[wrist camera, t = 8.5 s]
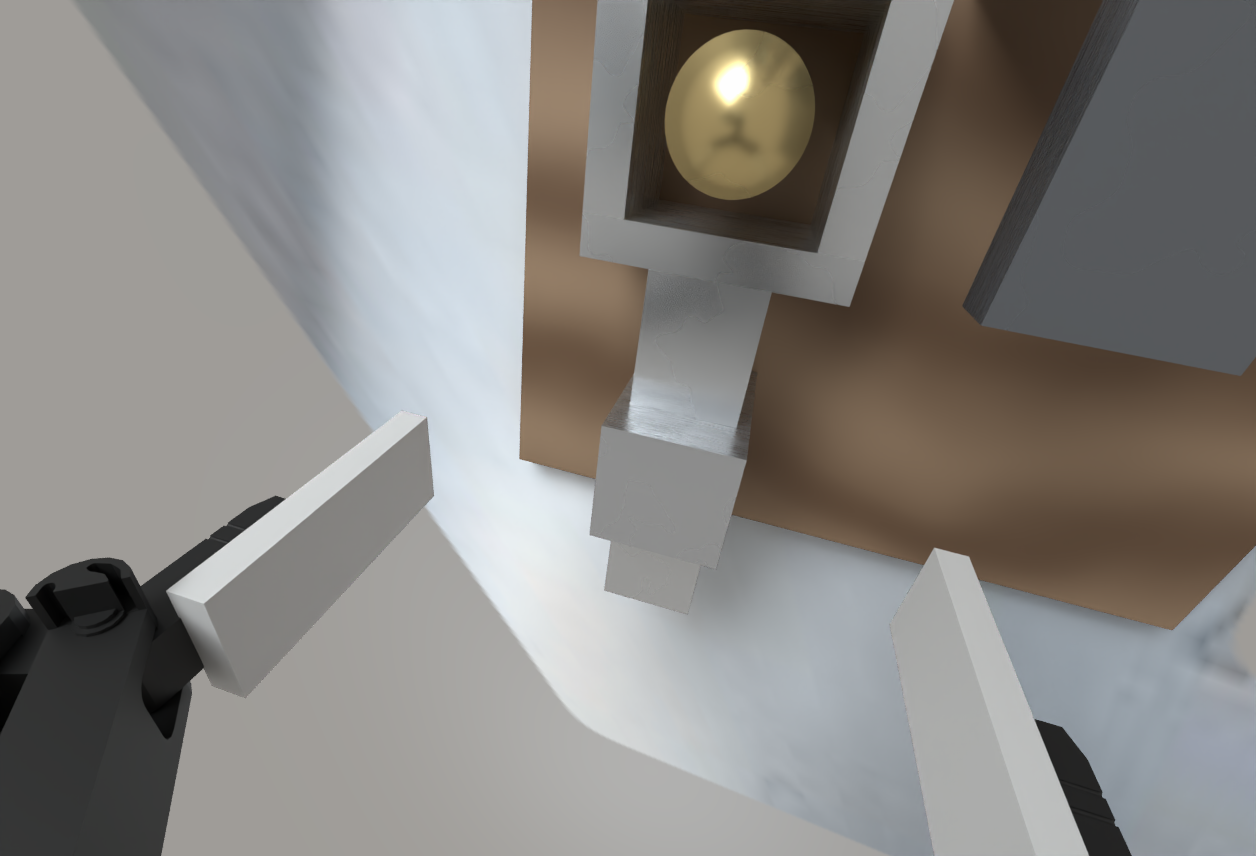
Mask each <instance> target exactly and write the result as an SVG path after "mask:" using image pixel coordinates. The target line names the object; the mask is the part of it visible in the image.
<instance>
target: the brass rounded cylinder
mask: <svg viewBox="0 0 1256 856" xmlns="http://www.w3.org/2000/svg"><path fill="white" fill-rule="evenodd" d="M814 115H815V96H814V90H813V85H812V81H811V78H810V75H809V72H808V70H807V68H806V66H805V64H804V62H803V61H802V59H801V58H800V56H799V55H798V54H797V53H796V51H795V50H794V49H793V48H792V47H791V46H790V45H788V44H787V43H786V42H785V41H783V40H782V39H780V38H778V37H777V36H775V35H772V34H770V33H767V32H763V31H758V30H747V29H744V30H736V31H731V32H728V33H724V34H722V35H720V36H717V37H715V38H713V39H712V40H710V41H708V42H707V43H705V44H704V45H703V46H701V47H700V48H699V49H698V50H696V51H695V52H694V53H693V54H692V56H691V57H690V58H689V59H688V60H687V61H686V63H685V64H684V65H683V67H682V68H681V70H680V71H679V73H678V75H677V76H676V78H675V81H674V83H673V85H672V87H671V90H670V93H669V97H668V100H667V105H666V111H665V135H666V142H667V146H668V149H669V153H670V155H671V158H672V160H673V162H674V164H675V166H676V168H677V169H678V171H679V172H680V173H681V175H682V176H683V177H684V178H685V179H686V180H687V181H688V183H689V184H691V185H692V186H693V187H695V188H696V189H697V190H699V191H701V192H702V193H704V194H707V195H709V196H711V197H715V198H719V199H725V200H740V199H746V198H750V197H753V196H756V195H759V194H761V193H763V192H765V191H767V190H769V189H771V188H772V187H774V186H775V185H777V184H778V183H779V182H780V181H781V180H783V179H784V178H785V177H786V176H787V175H788V174H789V173H790V172H791V170H792V169H793V168H794V166H795V165H796V164H797V163H798V161H799V159H800V158H801V156H802V154H803V153H804V150H805V148H806V146H807V144H808V141H809V138H810V135H811V132H812V128H813V123H814Z"/></svg>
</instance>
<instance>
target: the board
mask: <svg viewBox="0 0 1256 856" xmlns="http://www.w3.org/2000/svg"><path fill="white" fill-rule="evenodd" d="M1102 1H1103V0H954V2H953V5H952V8H951V11H950V14H949V16H948V19H947V22H946V25H945V28H944V31H943V34H942V37H941V40H940V43H939V46H938V49H937V52H936V55H935V58H934V60H933V63H932V66H931V69H930V72H929V75H928V78H927V81H926V84H925V87H924V90H923V93H922V96H921V99H920V102H919V104H918V107H917V110H916V113H915V116H914V119H913V122H912V125H911V128H910V131H909V134H908V137H907V140H906V143H905V146H904V149H903V151H902V154H901V157H900V160H899V163H898V166H897V169H896V172H895V175H894V178H893V181H892V184H891V187H890V190H889V193H888V195H887V198H886V201H885V204H884V207H883V210H882V213H881V216H880V219H879V222H878V225H877V228H876V231H875V234H874V237H873V239H872V242H871V245H870V248H869V251H868V254H867V257H866V260H865V263H864V266H863V269H862V272H861V275H860V278H859V281H858V283H857V286H856V289H855V292H854V295H853V298H852V301H851V304H850V307H847V306H842V305H837V304H831V303H826V302H821V301H815V300H810V299H805V298H799V297H794V296H789V295H783V294H778V293H773V292H772V294H771V297H770V301H769V305H768V309H767V313H766V317H765V321H764V324H763V328H762V332H761V336H760V340H759V344H758V347H757V351H756V355H755V359H754V363H753V367H752V370H751V371H754V372H757V380H756V388H755V396H754V405H753V413H752V421H751V429H750V438H749V446H748V454H747V461H746V465H745V468H744V472H743V475H742V479H741V482H740V486H739V490H738V493H737V497H736V500H735V504H734V507H733V511H732V514H731V515H735V516H739V517H743V518H746V519H750V520H754V521H758V522H762V523H765V524H769V525H773V526H777V527H781V528H784V529H788V530H792V531H796V532H800V533H804V534H807V535H811V536H815V537H819V538H823V539H826V540H830V541H834V542H838V543H842V544H845V545H849V546H853V547H857V548H861V549H864V550H868V551H872V552H876V553H880V554H884V555H887V556H891V557H895V558H899V559H903V560H906V561H910V562H914V563H918V564H922V565H924V564H925V563H926V561H927V559H928V558H929V556H930V554H931V552H932V551H933V549H934V548H937V549H941V550H945V551H949V552H953V553H957V554H961V555H965V556H969V558H970V561H971V563H972V566H973V568H974V571H975V573H976V575H977V578H978V579H979V580H983V581H986V582H990V583H994V584H998V585H1002V586H1005V587H1009V588H1013V589H1017V590H1021V591H1024V592H1028V593H1032V594H1036V595H1040V596H1044V597H1047V598H1051V599H1055V600H1059V601H1063V602H1066V603H1070V604H1074V605H1078V606H1082V607H1085V608H1089V609H1093V610H1097V611H1101V612H1104V613H1108V614H1112V615H1116V616H1120V617H1124V618H1127V619H1131V620H1135V621H1139V622H1143V623H1146V624H1150V625H1154V626H1158V627H1162V628H1165V629H1169V630H1173V629H1174V628H1175V627H1176V626H1177V625H1178V624H1179V623H1180V622H1181V621H1182V620H1183V619H1184V618H1185V617H1186V616H1187V615H1188V614H1189V613H1190V612H1191V611H1192V610H1193V609H1194V608H1195V607H1196V606H1197V605H1198V604H1199V603H1200V602H1201V601H1202V600H1203V599H1204V598H1205V597H1206V596H1207V595H1208V594H1209V592H1210V591H1211V590H1212V589H1213V588H1214V587H1215V586H1216V585H1217V584H1218V583H1219V582H1220V581H1221V580H1222V579H1223V578H1224V577H1225V576H1226V575H1227V574H1228V573H1229V572H1230V571H1231V570H1232V569H1233V568H1234V567H1235V566H1236V565H1237V564H1238V563H1239V562H1240V561H1241V560H1242V559H1243V558H1244V557H1245V556H1246V555H1247V554H1248V553H1249V552H1250V551H1251V550H1252V549H1253V548H1254V547H1255V546H1256V357H1255V359H1254V360H1253V361H1252V362H1251V364H1250V365H1249V366H1248V368H1247V369H1246V370H1245V371H1244V373H1243V374H1242V375H1241V376H1238V375H1233V374H1228V373H1222V372H1217V371H1212V370H1207V369H1202V368H1197V367H1191V366H1186V365H1181V364H1176V363H1171V362H1166V361H1161V360H1155V359H1150V358H1145V357H1140V356H1135V355H1130V354H1125V353H1119V352H1114V351H1109V350H1104V349H1099V348H1094V347H1089V346H1083V345H1078V344H1073V343H1068V342H1063V341H1058V340H1053V339H1047V338H1042V337H1037V336H1032V335H1027V334H1022V333H1017V332H1011V331H1006V330H1001V329H996V328H991V327H986V326H981V325H980V324H979V323H978V322H977V321H976V320H975V319H974V318H973V317H972V316H971V315H970V314H969V313H968V312H967V311H966V310H965V309H964V308H963V307H962V305H963V303H964V301H965V299H966V296H967V294H968V292H969V290H970V288H971V286H972V283H973V281H974V279H975V277H976V275H977V272H978V270H979V268H980V266H981V264H982V262H983V259H984V257H985V255H986V253H987V251H988V249H989V246H990V244H991V242H992V240H993V238H994V236H995V233H996V231H997V229H998V227H999V225H1000V223H1001V220H1002V218H1003V216H1004V214H1005V212H1006V210H1007V207H1008V205H1009V203H1010V201H1011V199H1012V197H1013V194H1014V192H1015V190H1016V188H1017V186H1018V184H1019V181H1020V179H1021V177H1022V175H1023V173H1024V171H1025V168H1026V166H1027V164H1028V162H1029V160H1030V157H1031V155H1032V153H1033V151H1034V149H1035V147H1036V144H1037V142H1038V140H1039V138H1040V136H1041V134H1042V131H1043V129H1044V127H1045V125H1046V123H1047V121H1048V118H1049V116H1050V114H1051V112H1052V110H1053V108H1054V105H1055V103H1056V101H1057V99H1058V97H1059V95H1060V92H1061V90H1062V88H1063V86H1064V84H1065V82H1066V79H1067V77H1068V75H1069V73H1070V71H1071V69H1072V66H1073V64H1074V62H1075V60H1076V58H1077V55H1078V53H1079V51H1080V49H1081V47H1082V45H1083V42H1084V40H1085V38H1086V36H1087V34H1088V32H1089V29H1090V27H1091V25H1092V23H1093V21H1094V19H1095V16H1096V14H1097V12H1098V10H1099V8H1100V6H1101V3H1102ZM597 2H598V0H532V31H531V66H530V102H529V137H528V173H527V208H526V244H525V280H524V315H523V351H522V386H521V422H520V457H519V459H522V460H525V461H529V462H533V463H537V464H541V465H544V466H548V467H552V468H556V469H560V470H563V471H567V472H571V473H575V474H579V475H583V476H586V477H590V478H594V479H596V472H597V463H598V454H599V444H600V435H601V426H602V424H603V423H604V421H605V419H606V418H607V416H608V414H609V413H610V411H611V410H612V408H613V406H614V405H615V403H616V402H617V400H618V398H619V397H620V395H621V394H622V392H623V390H624V389H625V387H626V386H627V384H628V382H629V381H630V379H631V377H632V376H633V374H634V371H635V364H636V356H637V349H638V342H639V335H640V327H641V320H642V313H643V306H644V298H645V291H646V284H647V277H648V269H645V268H640V267H635V266H629V265H624V264H619V263H613V262H608V261H603V260H597V259H592V258H587V257H581V256H579V255H580V241H581V227H582V213H583V199H584V185H585V171H586V157H587V143H588V129H589V115H590V101H591V87H592V73H593V59H594V45H595V30H596V16H597ZM744 29H747V30H758V31H763V32H767V33H770V34H772V35H775V36H777V37H778V38H780V39H782V40H783V41H785V42H786V43H787V44H788V45H790V46H791V47H792V48H793V49H794V50H795V51H796V53H797V54H798V55H799V56H800V58H801V59H802V61H803V62H804V64H805V66H806V68H807V70H808V72H809V75H810V78H811V81H812V85H813V90H814V96H815V115H814V123H813V128H812V132H811V135H810V138H809V141H808V144H807V146H806V148H805V150H804V153H803V154H802V156H801V158H800V159H799V161H798V163H797V164H796V165H795V166H794V168H793V169H792V170H791V172H790V173H789V174H788V175H787V176H786V177H785V178H784V179H783V180H781V181H780V182H779V183H778V184H777V185H775V186H774V187H772V188H771V189H769V190H767V191H765V192H763V193H761V194H759V195H756V196H753V197H750V198H746V199H740V200H725V199H719V198H715V197H711V196H709V195H707V194H704V193H702V192H701V191H699V190H697V189H696V188H695V187H693V186H692V185H691V184H689V183H688V181H687V180H686V179H685V178H684V177H683V176H682V175H681V173H680V172H679V171H678V169H677V168H676V166H675V164H674V162H673V160H672V158H671V155H670V153H669V149H668V146H666V153H665V160H664V167H663V175H662V182H661V189H660V196H659V200H664V201H670V202H676V203H682V204H688V205H694V206H700V207H706V208H712V209H718V210H724V211H730V212H736V213H742V214H748V215H754V216H760V217H766V218H772V219H778V220H784V221H790V222H796V223H802V224H808V225H811V222H812V218H813V214H814V211H815V207H816V204H817V200H818V197H819V193H820V189H821V186H822V182H823V179H824V175H825V172H826V168H827V164H828V161H829V157H830V154H831V150H832V147H833V143H834V139H835V136H836V132H837V129H838V125H839V122H840V118H841V114H842V111H843V107H844V104H845V100H846V97H847V93H848V89H849V86H850V82H851V79H852V75H853V72H854V68H855V64H856V61H857V57H858V54H859V50H860V47H861V43H862V39H863V36H864V33H857V32H848V31H839V30H829V29H820V28H811V27H802V26H793V25H784V24H775V23H766V22H757V21H748V20H738V19H729V18H720V17H711V16H702V15H693V14H685V16H684V23H683V30H682V38H681V45H680V52H679V59H678V66H677V74H676V76H677V75H678V73H679V71H680V70H681V68H682V67H683V65H684V64H685V63H686V61H687V60H688V59H689V58H690V57H691V56H692V54H693V53H694V52H695V51H696V50H698V49H699V48H700V47H701V46H703V45H704V44H705V43H707V42H708V41H710V40H712V39H713V38H715V37H717V36H720V35H722V34H724V33H728V32H731V31H736V30H744Z"/></svg>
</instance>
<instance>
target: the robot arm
mask: <svg viewBox="0 0 1256 856" xmlns="http://www.w3.org/2000/svg"><path fill="white" fill-rule="evenodd" d="M433 496H434V490H433V479H432V467H431V456H430V445H429V434H428V423H427V417H425V416H421V415H417V414H413V413H409V412H405V411H401V412H399V413H398V414H397V415H395V416H394V417H393V418H391V419H390V420H389V421H387V422H386V423H385V424H384V425H382V426H381V427H380V428H378V429H377V430H376V431H374V432H373V433H372V434H371V435H369V436H368V437H367V438H365V439H364V440H363V441H361V442H360V443H359V444H357V445H356V446H355V447H353V448H352V449H351V450H350V451H348V452H347V453H346V454H344V455H343V456H342V457H340V458H339V459H338V460H336V461H335V462H334V463H333V464H331V465H330V466H329V467H327V468H326V469H325V470H323V471H322V472H321V473H319V474H318V475H317V476H316V477H314V478H313V479H312V480H310V481H309V482H308V483H306V484H305V485H304V486H302V487H301V488H300V489H299V490H297V491H296V492H295V493H293V494H292V495H291V496H289V497H288V498H287V499H284V498H281V497H278V496H274V497H272V498H270V499H267V500H265V501H263V502H260V503H258V504H256V505H253V506H251V507H249V508H248V509H246V510H245V511H243V512H242V513H241V514H240V515H238V516H236V517H235V518H234V519H232V520H231V521H230V522H228V525H227V526H223V527H221V528H220V529H219V530H217V531H216V532H215V533H213V534H212V535H211V536H210V538H209V539H205V540H204V541H202V542H201V543H199V544H198V545H197V546H195V547H194V548H193V549H191V550H190V551H188V552H187V553H186V554H184V555H183V556H182V557H180V558H179V559H178V560H176V561H175V562H173V563H172V564H171V565H169V566H168V567H166V568H165V569H164V570H162V571H161V572H160V573H158V574H157V575H155V576H154V577H153V578H151V579H150V580H149V581H147V582H146V583H145V584H143V585H142V586H140V585H139V583H138V581H137V579H136V577H135V575H134V574H133V572H132V570H131V568H130V567H129V566H128V565H127V564H126V563H125V562H124V561H123V560H119V559H114V558H98V559H90V560H86V561H83V562H79V563H75V564H72V565H69V566H67V567H65V568H63V569H61V570H58V571H56V572H54V573H52V574H50V575H49V576H48V577H46V578H45V579H43V580H42V581H41V582H39V583H38V584H36V585H35V586H34V587H33V589H32V590H31V591H30V592H29V593H28V595H27V596H26V599H27V601H28V602H29V604H30V605H31V607H32V608H33V609H24V608H23V607H22V605H21V604H20V603H19V601H18V600H17V598H16V597H15V596H14V595H13V594H11V593H10V592H8V591H6V590H1V589H0V856H161V853H162V848H163V842H164V837H165V832H166V826H167V822H168V816H169V811H170V805H171V801H172V795H173V790H174V785H175V779H176V774H177V769H178V764H179V759H180V753H181V748H182V743H183V737H184V732H185V727H186V722H187V717H188V711H189V706H190V701H191V696H192V689H191V683H190V680H191V679H192V678H193V677H194V676H196V675H197V674H198V673H199V672H200V671H201V670H202V669H203V668H204V670H205V672H206V674H207V676H208V678H209V680H210V682H211V684H212V686H214V687H216V688H219V689H222V690H225V691H227V692H230V693H233V694H236V695H238V696H241V697H244V698H246V697H247V696H248V695H249V694H250V693H251V692H252V690H253V689H254V688H255V687H256V686H257V685H258V684H259V683H260V682H261V681H262V680H263V679H264V677H266V676H267V674H268V673H269V672H270V671H271V670H272V669H273V668H274V667H275V666H276V665H277V664H278V663H279V662H280V660H281V659H282V658H283V657H284V656H285V655H286V654H287V653H288V652H289V651H290V650H291V649H292V648H293V647H294V646H295V644H296V643H297V642H298V641H299V640H300V639H301V638H302V637H303V635H305V634H306V633H307V632H308V630H309V629H310V628H311V627H312V626H313V625H314V624H315V623H316V622H317V621H318V620H319V619H320V618H321V617H322V615H323V614H324V613H325V612H326V611H327V610H328V609H329V608H330V607H331V606H332V605H333V604H334V603H335V602H336V600H337V599H338V598H339V597H340V596H341V595H342V594H343V593H344V592H345V591H346V590H347V589H348V588H349V587H350V585H351V584H352V583H353V582H354V581H355V580H356V579H357V578H358V577H359V576H360V575H361V574H362V573H363V572H364V570H365V569H366V568H367V567H368V566H369V565H370V564H371V563H372V562H373V561H374V560H375V559H376V557H377V556H378V555H379V554H380V553H381V552H382V551H383V550H384V549H385V548H386V547H387V546H388V545H389V544H390V542H391V541H392V540H393V539H394V538H395V537H396V536H397V535H398V534H399V533H400V532H401V531H402V530H403V529H404V528H405V526H406V525H407V524H408V523H409V522H410V521H411V520H412V519H413V518H414V517H415V516H416V515H417V514H418V513H419V511H420V510H421V509H422V508H423V507H424V506H425V505H426V504H427V503H428V502H429V501H430V500H431V499H432V498H433ZM890 629H891V634H892V639H893V645H894V650H895V655H896V660H897V665H898V671H899V676H900V681H901V686H902V691H903V696H904V702H905V707H906V712H907V717H908V722H909V727H910V733H911V738H912V743H913V748H914V753H915V759H916V764H917V769H918V774H919V779H920V784H921V790H922V795H923V800H924V805H925V810H926V816H927V821H928V826H929V831H930V836H931V841H932V847H933V852H934V856H1131V853H1130V851H1129V849H1128V847H1127V845H1126V842H1125V840H1124V838H1123V836H1122V834H1121V832H1120V829H1119V827H1116V826H1115V824H1114V821H1115V818H1114V816H1113V814H1112V812H1111V810H1110V808H1109V805H1108V803H1107V801H1106V799H1104V798H1102V790H1101V788H1100V786H1099V784H1098V781H1097V779H1096V777H1095V775H1094V773H1093V770H1092V768H1091V766H1090V764H1089V762H1088V760H1087V758H1086V757H1085V756H1084V754H1083V753H1082V752H1081V751H1080V749H1079V748H1078V747H1077V745H1076V744H1075V743H1074V742H1073V740H1072V739H1071V738H1070V737H1069V735H1068V734H1067V733H1066V732H1065V730H1064V729H1063V728H1062V727H1060V726H1056V725H1053V724H1049V723H1046V722H1043V721H1039V720H1036V719H1034V718H1033V715H1032V713H1031V710H1030V708H1029V705H1028V703H1027V700H1026V698H1025V695H1024V693H1023V690H1022V688H1021V685H1020V683H1019V680H1018V678H1017V675H1016V673H1015V670H1014V668H1013V665H1012V663H1011V660H1010V658H1009V655H1008V653H1007V650H1006V648H1005V645H1004V643H1003V640H1002V638H1001V635H1000V633H999V630H998V628H997V625H996V623H995V620H994V618H993V615H992V613H991V610H990V608H989V605H988V603H987V600H986V598H985V595H984V593H983V590H982V588H981V585H980V583H979V580H978V578H977V575H976V573H975V571H974V568H973V566H972V563H971V561H970V558H969V556H965V555H961V554H957V553H953V552H949V551H945V550H941V549H937V548H934V549H933V551H932V552H931V554H930V556H929V558H928V559H927V561H926V563H925V564H924V566H923V568H922V569H921V571H920V573H919V575H918V576H917V578H916V580H915V581H914V583H913V585H912V587H911V588H910V590H909V592H908V593H907V595H906V597H905V599H904V600H903V602H902V604H901V605H900V607H899V609H898V610H897V612H896V614H895V616H894V617H893V619H892V621H891V622H890Z"/></svg>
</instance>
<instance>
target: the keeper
mask: <svg viewBox="0 0 1256 856" xmlns="http://www.w3.org/2000/svg"><path fill="white" fill-rule="evenodd" d="M962 307H963V308H964V309H965V310H966V311H967V312H968V313H969V314H970V315H971V316H972V317H973V318H974V319H975V320H976V321H977V322H978V323H979V324H980V325H981V326H986V327H991V328H996V329H1001V330H1006V331H1011V332H1017V333H1022V334H1027V335H1032V336H1037V337H1042V338H1047V339H1053V340H1058V341H1063V342H1068V343H1073V344H1078V345H1083V346H1089V347H1094V348H1099V349H1104V350H1109V351H1114V352H1119V353H1125V354H1130V355H1135V356H1140V357H1145V358H1150V359H1155V360H1161V361H1166V362H1171V363H1176V364H1181V365H1186V366H1191V367H1197V368H1202V369H1207V370H1212V371H1217V372H1222V373H1228V374H1233V375H1238V376H1241V375H1242V374H1243V373H1244V371H1245V370H1246V369H1247V368H1248V366H1249V365H1250V364H1251V362H1252V361H1253V360H1254V359H1255V357H1256V0H1103V1H1102V3H1101V6H1100V8H1099V10H1098V12H1097V14H1096V16H1095V19H1094V21H1093V23H1092V25H1091V27H1090V29H1089V32H1088V34H1087V36H1086V38H1085V40H1084V42H1083V45H1082V47H1081V49H1080V51H1079V53H1078V55H1077V58H1076V60H1075V62H1074V64H1073V66H1072V69H1071V71H1070V73H1069V75H1068V77H1067V79H1066V82H1065V84H1064V86H1063V88H1062V90H1061V92H1060V95H1059V97H1058V99H1057V101H1056V103H1055V105H1054V108H1053V110H1052V112H1051V114H1050V116H1049V118H1048V121H1047V123H1046V125H1045V127H1044V129H1043V131H1042V134H1041V136H1040V138H1039V140H1038V142H1037V144H1036V147H1035V149H1034V151H1033V153H1032V155H1031V157H1030V160H1029V162H1028V164H1027V166H1026V168H1025V171H1024V173H1023V175H1022V177H1021V179H1020V181H1019V184H1018V186H1017V188H1016V190H1015V192H1014V194H1013V197H1012V199H1011V201H1010V203H1009V205H1008V207H1007V210H1006V212H1005V214H1004V216H1003V218H1002V220H1001V223H1000V225H999V227H998V229H997V231H996V233H995V236H994V238H993V240H992V242H991V244H990V246H989V249H988V251H987V253H986V255H985V257H984V259H983V262H982V264H981V266H980V268H979V270H978V272H977V275H976V277H975V279H974V281H973V283H972V286H971V288H970V290H969V292H968V294H967V296H966V299H965V301H964V303H963V305H962Z"/></svg>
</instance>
